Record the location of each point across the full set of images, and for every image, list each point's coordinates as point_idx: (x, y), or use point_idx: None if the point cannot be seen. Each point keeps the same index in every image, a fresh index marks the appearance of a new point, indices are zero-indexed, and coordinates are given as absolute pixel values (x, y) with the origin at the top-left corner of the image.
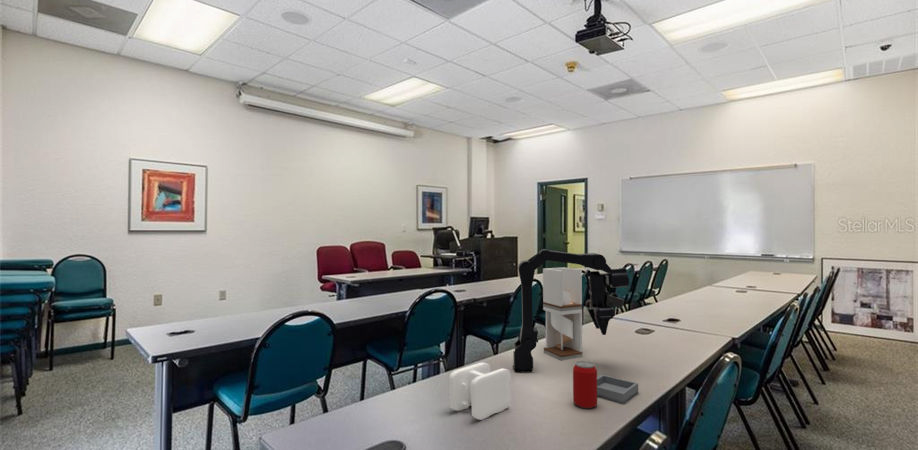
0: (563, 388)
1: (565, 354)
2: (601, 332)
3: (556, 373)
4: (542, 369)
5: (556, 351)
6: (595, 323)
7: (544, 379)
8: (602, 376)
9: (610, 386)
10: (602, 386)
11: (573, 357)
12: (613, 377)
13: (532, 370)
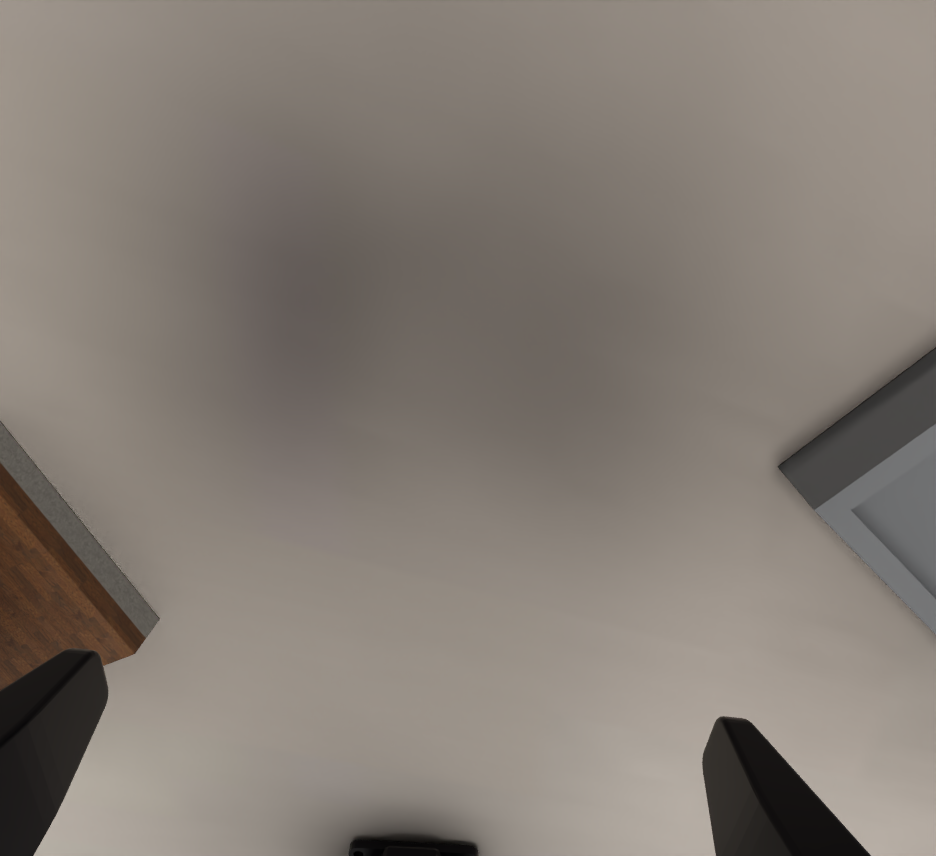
0: (809, 748)
1: (98, 614)
2: (728, 830)
3: (496, 720)
4: (406, 780)
5: (17, 663)
6: (26, 835)
7: (617, 808)
8: (868, 530)
9: (933, 457)
10: (912, 522)
11: (63, 511)
12: (929, 439)
13: (466, 853)
